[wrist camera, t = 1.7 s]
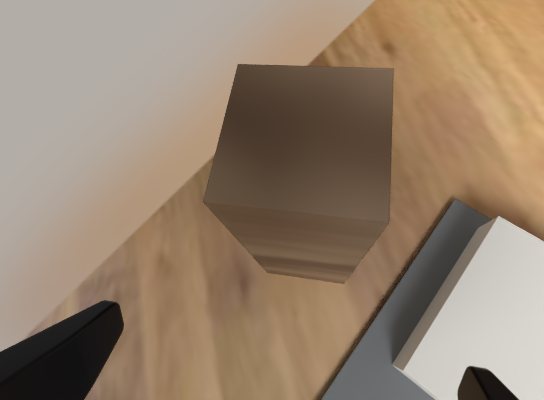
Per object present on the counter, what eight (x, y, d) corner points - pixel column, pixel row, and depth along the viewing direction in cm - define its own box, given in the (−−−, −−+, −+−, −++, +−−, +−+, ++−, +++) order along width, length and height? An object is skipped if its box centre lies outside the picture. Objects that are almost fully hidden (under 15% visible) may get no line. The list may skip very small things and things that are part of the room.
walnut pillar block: (343, 283, 20) (389, 222, 8) (267, 272, 21) (203, 201, 9) (349, 210, 22) (393, 68, 10) (278, 203, 22) (238, 64, 10)
